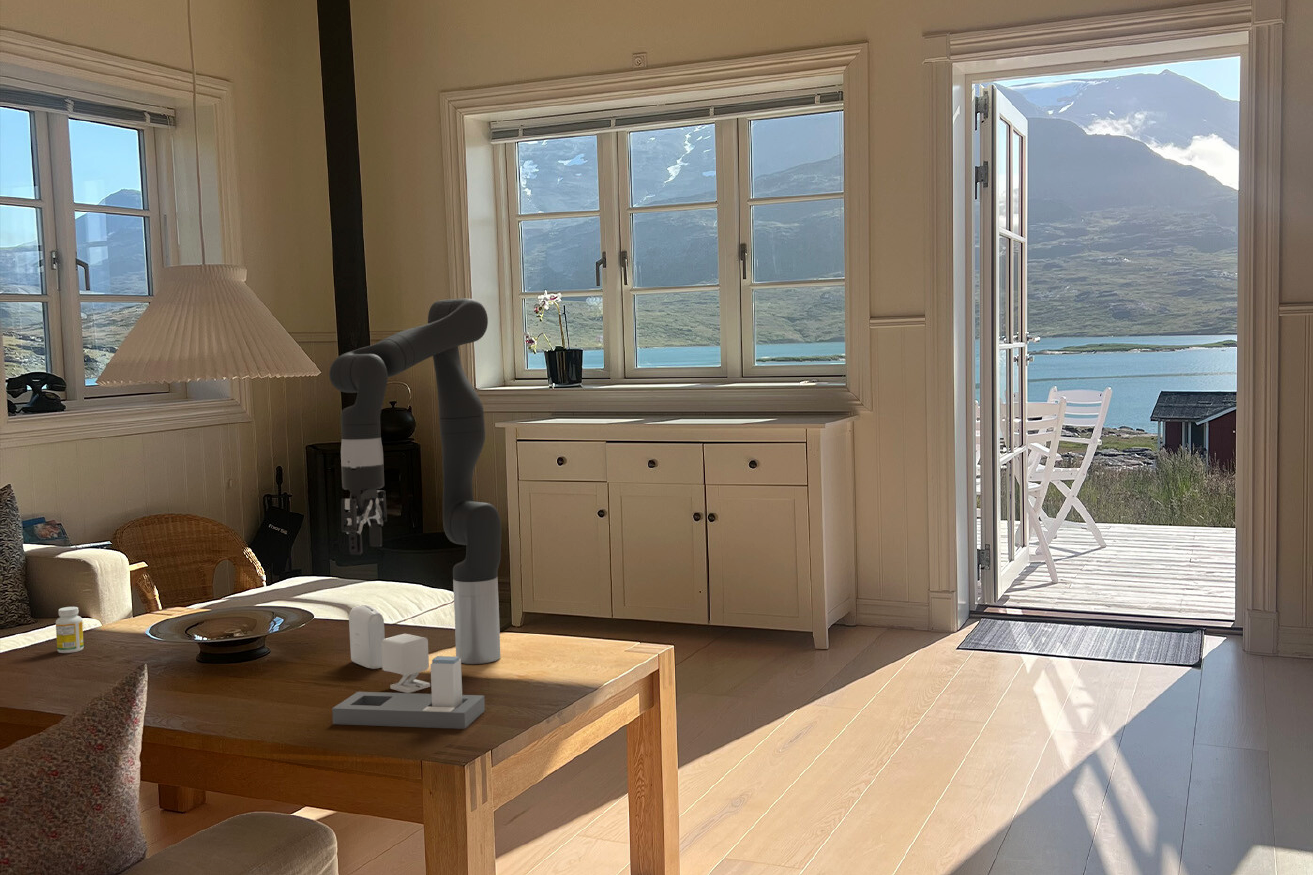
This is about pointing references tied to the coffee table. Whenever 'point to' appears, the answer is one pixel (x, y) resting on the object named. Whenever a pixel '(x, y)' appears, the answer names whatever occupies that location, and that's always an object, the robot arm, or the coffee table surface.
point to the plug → (446, 682)
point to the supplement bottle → (69, 630)
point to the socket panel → (406, 710)
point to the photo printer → (366, 636)
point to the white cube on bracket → (406, 660)
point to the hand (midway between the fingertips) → (366, 550)
